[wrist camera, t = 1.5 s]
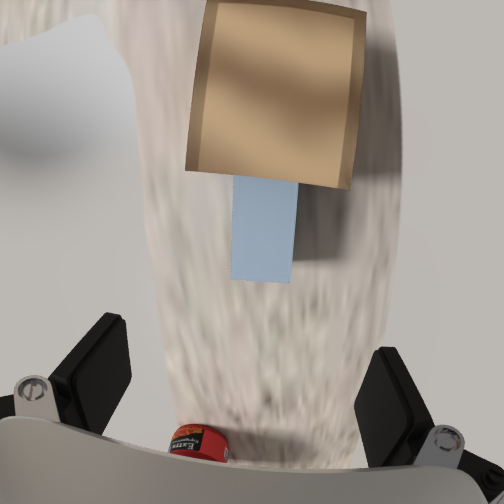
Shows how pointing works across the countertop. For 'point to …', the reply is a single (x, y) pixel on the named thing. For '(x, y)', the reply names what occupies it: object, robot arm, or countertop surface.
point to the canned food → (200, 443)
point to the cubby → (278, 91)
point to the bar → (263, 229)
